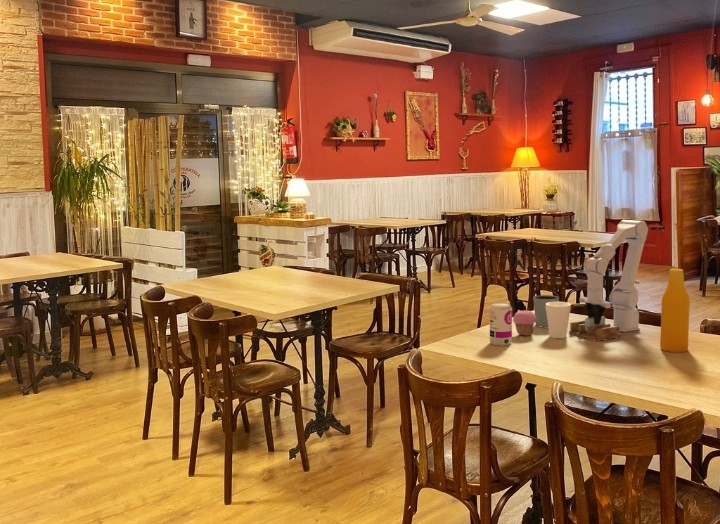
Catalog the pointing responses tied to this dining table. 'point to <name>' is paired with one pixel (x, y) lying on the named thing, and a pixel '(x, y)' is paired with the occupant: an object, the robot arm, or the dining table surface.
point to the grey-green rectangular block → (590, 322)
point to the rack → (594, 331)
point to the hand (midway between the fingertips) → (594, 323)
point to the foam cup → (558, 318)
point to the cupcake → (524, 322)
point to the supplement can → (500, 324)
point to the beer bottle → (675, 314)
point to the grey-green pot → (542, 308)
